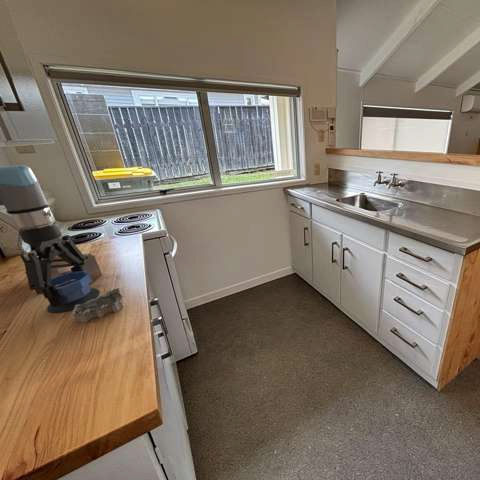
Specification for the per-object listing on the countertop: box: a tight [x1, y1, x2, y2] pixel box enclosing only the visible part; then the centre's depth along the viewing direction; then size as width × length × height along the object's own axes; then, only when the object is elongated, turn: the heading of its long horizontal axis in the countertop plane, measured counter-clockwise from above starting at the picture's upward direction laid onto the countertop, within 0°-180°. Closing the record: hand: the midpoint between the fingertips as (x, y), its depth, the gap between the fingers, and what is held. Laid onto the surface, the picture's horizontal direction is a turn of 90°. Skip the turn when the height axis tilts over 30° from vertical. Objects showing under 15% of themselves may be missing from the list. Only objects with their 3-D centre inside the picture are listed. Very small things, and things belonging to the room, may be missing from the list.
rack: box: [25, 253, 103, 295], centre depth 85 cm, size 14×9×9 cm, turn 99°
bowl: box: [51, 271, 92, 303], centre depth 76 cm, size 10×10×6 cm
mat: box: [46, 287, 100, 314], centre depth 78 cm, size 12×12×1 cm
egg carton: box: [71, 288, 124, 324], centre depth 72 cm, size 11×8×4 cm
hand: (72, 294), depth 77 cm, fingers closed on bowl, 10 cm apart
